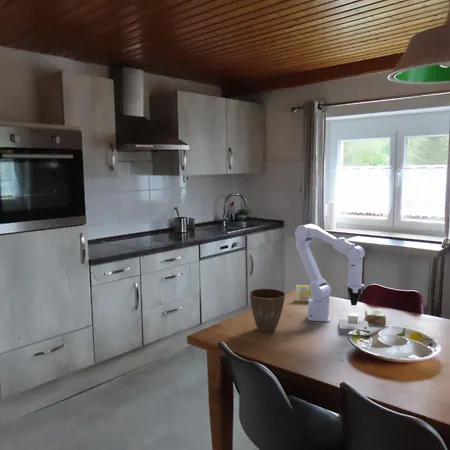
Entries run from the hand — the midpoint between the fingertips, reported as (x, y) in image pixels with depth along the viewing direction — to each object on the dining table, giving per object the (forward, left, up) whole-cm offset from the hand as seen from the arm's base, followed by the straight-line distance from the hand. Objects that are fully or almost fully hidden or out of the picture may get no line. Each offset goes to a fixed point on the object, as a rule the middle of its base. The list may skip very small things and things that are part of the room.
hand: (353, 304), depth 195 cm
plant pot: (-36, -13, -10) cm, 40 cm away
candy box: (-19, +35, -10) cm, 41 cm away
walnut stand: (+10, +9, -10) cm, 17 cm away
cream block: (0, +3, -10) cm, 10 cm away
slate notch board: (0, -5, -10) cm, 11 cm away
